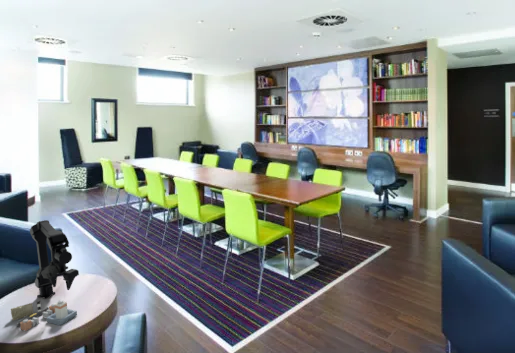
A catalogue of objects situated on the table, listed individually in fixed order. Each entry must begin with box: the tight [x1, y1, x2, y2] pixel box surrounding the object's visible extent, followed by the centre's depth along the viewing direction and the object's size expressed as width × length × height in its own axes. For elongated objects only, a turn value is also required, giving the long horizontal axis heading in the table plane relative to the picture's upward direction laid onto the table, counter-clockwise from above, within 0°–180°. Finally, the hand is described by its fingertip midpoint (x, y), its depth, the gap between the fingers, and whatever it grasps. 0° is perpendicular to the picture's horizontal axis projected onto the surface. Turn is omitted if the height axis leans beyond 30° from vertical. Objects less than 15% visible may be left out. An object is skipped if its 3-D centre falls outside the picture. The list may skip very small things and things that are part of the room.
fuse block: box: [16, 306, 53, 328], centre depth 175 cm, size 7×16×2 cm, turn 160°
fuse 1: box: [19, 318, 33, 332], centre depth 168 cm, size 3×3×4 cm
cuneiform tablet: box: [10, 300, 42, 322], centre depth 178 cm, size 7×4×12 cm
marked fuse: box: [54, 299, 68, 320], centre depth 175 cm, size 4×4×8 cm
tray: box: [46, 308, 78, 326], centre depth 176 cm, size 9×10×2 cm
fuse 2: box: [49, 303, 56, 314], centre depth 182 cm, size 3×3×4 cm
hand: (61, 288), depth 180 cm, fingers open, 9 cm apart
